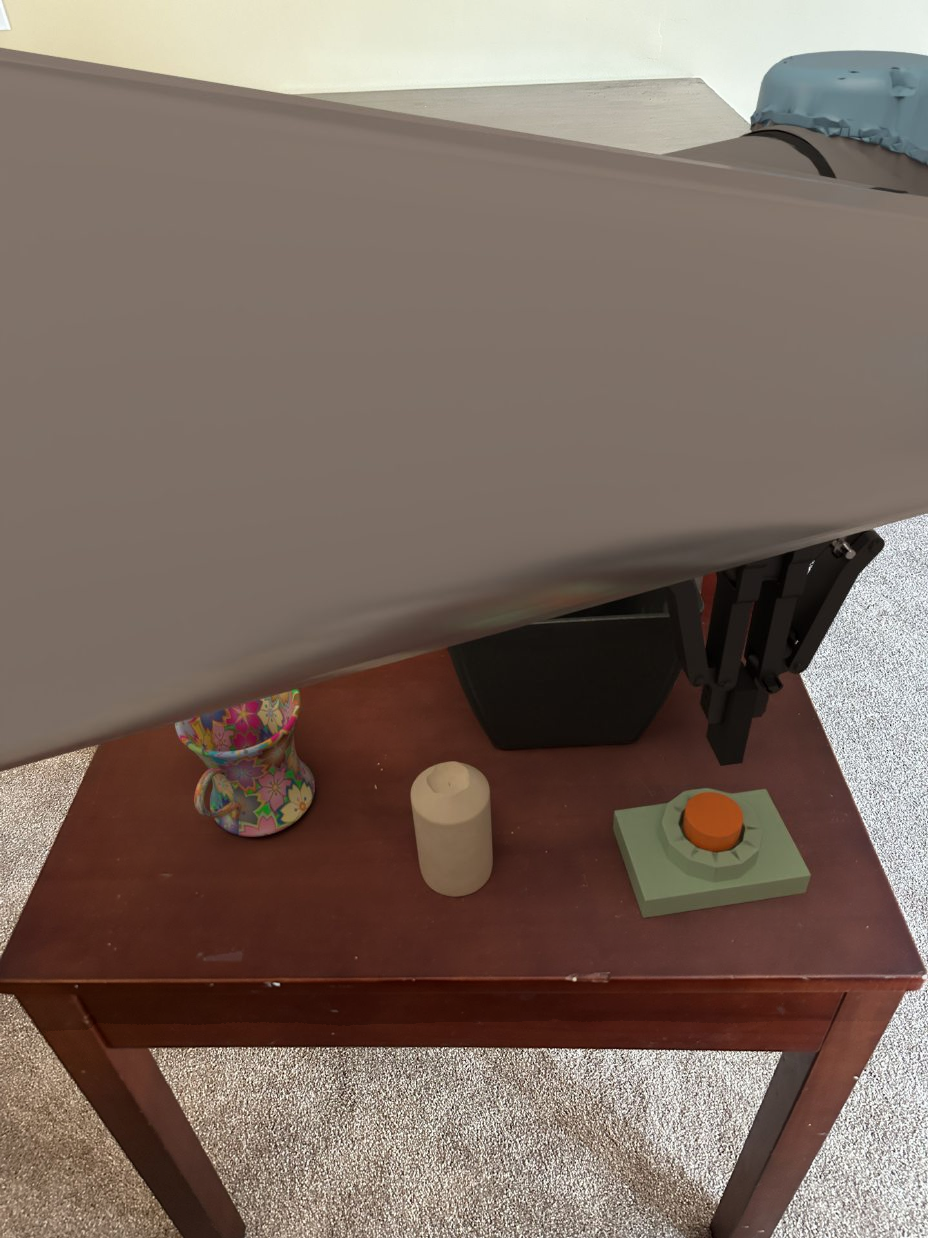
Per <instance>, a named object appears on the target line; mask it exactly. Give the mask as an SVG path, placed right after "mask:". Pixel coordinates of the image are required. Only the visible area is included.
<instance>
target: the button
mask: <svg viewBox="0 0 928 1238" xmlns="http://www.w3.org/2000/svg"><path fill="white" fill-rule="evenodd" d="M742 824H743V813H742V811H741V809H740V807H739V806H738V804H737V803H736V802H735V801H733V800H732V799H731V798H729V797H727V796H725V795H723V794H720V793H715V792H704V793H700V794H697V795H695V796H693V797H692V798H691V799H690V800H689V801H688V803H687V805H686V808H685V814H684V820H683V830H684V833H685V835H686V837H687V838H688V839H689V841H690V842H691V843H693V844H694V845H695V846H697V847H699V848H701V849H703V850H707V851H712V852H721V851H725V850H728V849H730V848H732V847H733V846H734V845H735V844H736V843H737V842H738V840H739V837H740V833H741V828H742Z"/></svg>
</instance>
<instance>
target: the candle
mask: <svg viewBox="0 0 928 1238" xmlns="http://www.w3.org/2000/svg"><path fill="white" fill-rule="evenodd" d="M410 803H411V810H412V818H413V826H414V832H415V841H416V849H417V857H418V863H419V870H420V873H421V876H422V879H423V880H424V882H425V883H426V885H427V886H428V887H429V888H430V889H431V890H433V891H434V892H436V893H438V894H440V895H443V896H447V897H455V898H457V897H464V896H468V895H471V894H473V893H475V892H477V891H479V890H480V889H481V888H482V887H483V886H485V884H486V883H487V882H488V881H489V879H490V877H491V874H492V871H493V867H494V853H493V852H494V850H493V830H492V828H493V827H492V808H491V789H490V785H489V781H488V779H487V778H486V776H485V775H484V774H483V772H481V771H480V770H479V769H478V768H476V767H474V766H473V765H470V764H467V763H463V762H459V761H455V760H454V761H453V760H452V761H445V762H440V763H437V764H434V765H432V766H430V767H428V768H426V769H425V770H423V771H422V772H420V774H418V776H416V778H415V780H414V781H413V783H412V785H411V788H410Z"/></svg>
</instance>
